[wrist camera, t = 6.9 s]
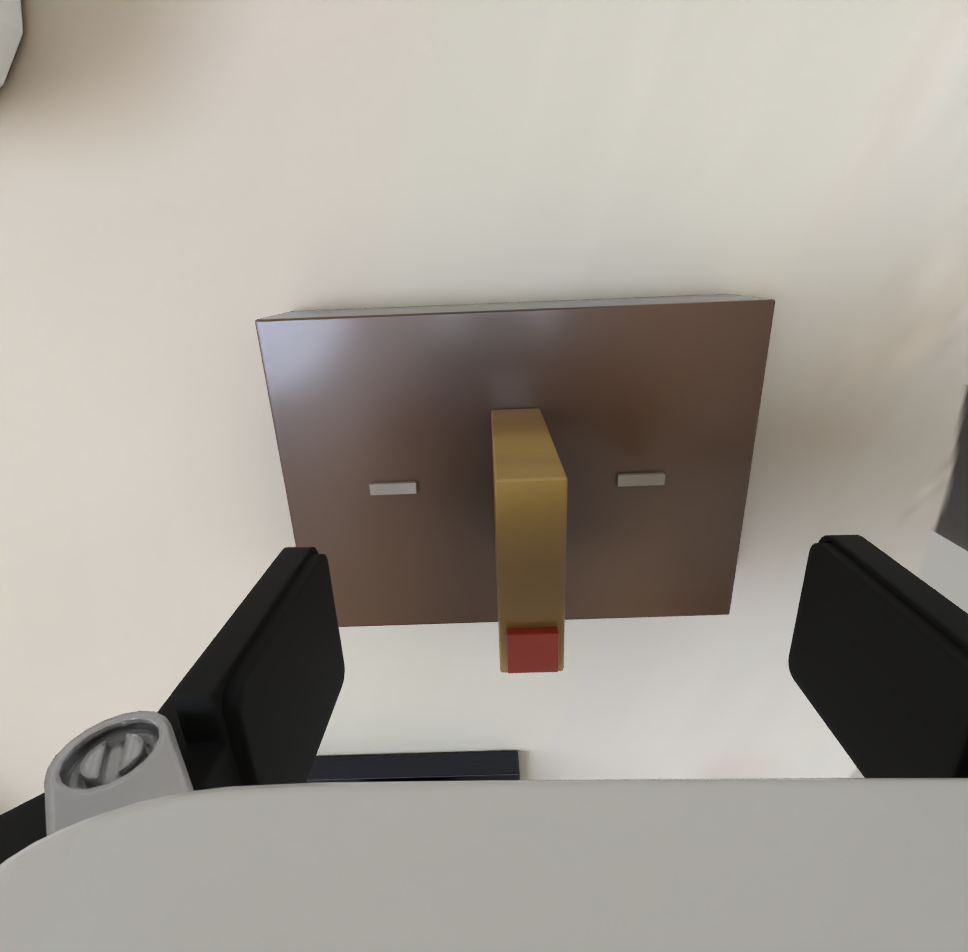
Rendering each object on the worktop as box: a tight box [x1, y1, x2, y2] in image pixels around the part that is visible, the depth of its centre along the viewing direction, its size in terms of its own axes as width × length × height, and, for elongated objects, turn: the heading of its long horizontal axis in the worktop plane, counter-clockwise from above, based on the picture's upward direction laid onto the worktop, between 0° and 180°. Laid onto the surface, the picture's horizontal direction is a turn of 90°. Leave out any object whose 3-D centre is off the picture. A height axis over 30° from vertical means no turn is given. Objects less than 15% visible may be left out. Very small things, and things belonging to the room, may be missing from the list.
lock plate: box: [255, 294, 775, 627], centre depth 18 cm, size 14×10×3 cm
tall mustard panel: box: [491, 408, 568, 673], centre depth 14 cm, size 5×1×6 cm, turn 2°
